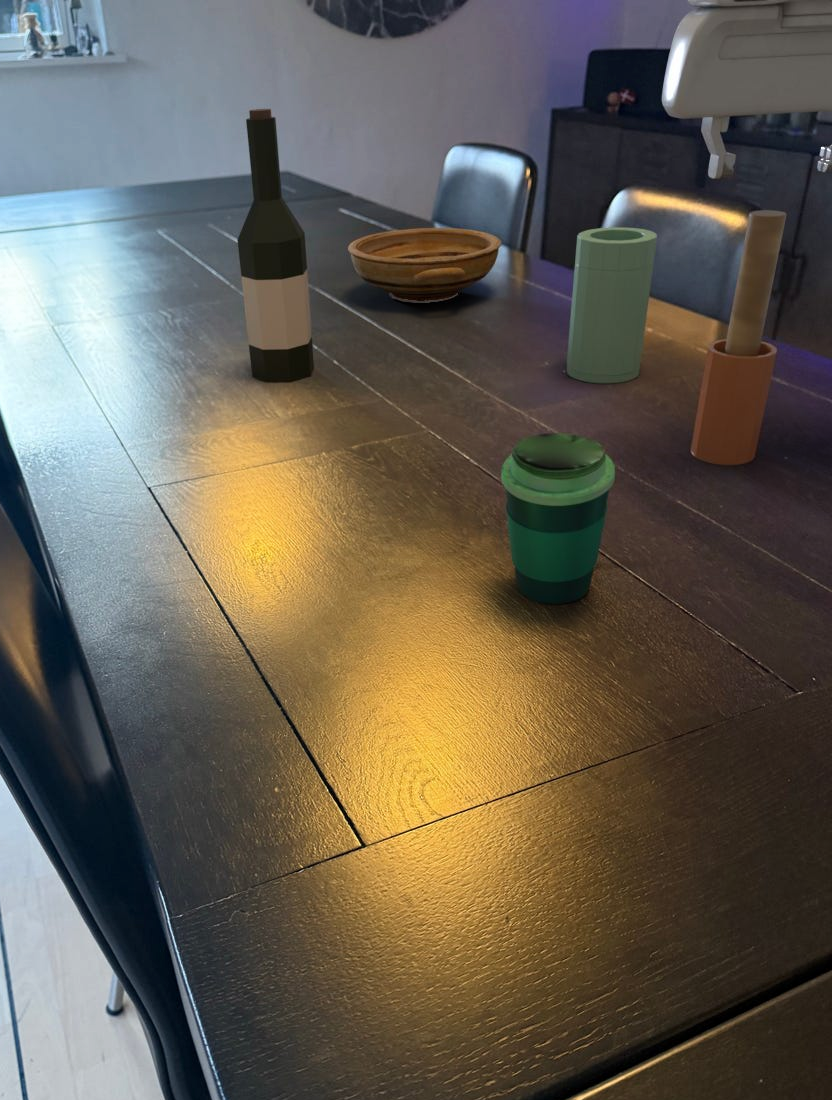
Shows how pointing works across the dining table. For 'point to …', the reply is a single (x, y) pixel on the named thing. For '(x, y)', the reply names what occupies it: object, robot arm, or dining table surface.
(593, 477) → the cup
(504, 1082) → the dining table surface
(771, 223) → the wooden rod
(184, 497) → the dining table surface
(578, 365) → the mint green tube
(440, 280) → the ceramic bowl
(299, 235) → the wine bottle
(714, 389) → the cup
